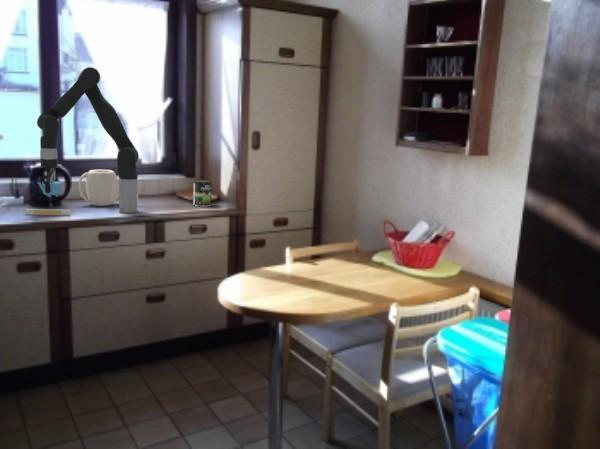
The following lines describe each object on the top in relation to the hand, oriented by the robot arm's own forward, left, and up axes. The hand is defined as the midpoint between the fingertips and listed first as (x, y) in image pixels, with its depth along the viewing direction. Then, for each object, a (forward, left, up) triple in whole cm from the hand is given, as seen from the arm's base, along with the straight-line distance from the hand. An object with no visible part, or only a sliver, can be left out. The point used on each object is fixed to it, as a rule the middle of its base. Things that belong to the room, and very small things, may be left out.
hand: (50, 191), depth 273 cm
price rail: (0, +6, -10) cm, 12 cm away
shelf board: (0, +1, -11) cm, 11 cm away
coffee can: (-73, -36, -12) cm, 82 cm away
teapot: (0, 0, -2) cm, 2 cm away
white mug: (-20, -32, -12) cm, 40 cm away
